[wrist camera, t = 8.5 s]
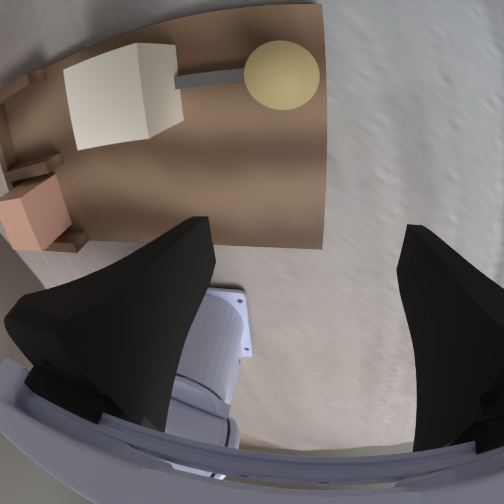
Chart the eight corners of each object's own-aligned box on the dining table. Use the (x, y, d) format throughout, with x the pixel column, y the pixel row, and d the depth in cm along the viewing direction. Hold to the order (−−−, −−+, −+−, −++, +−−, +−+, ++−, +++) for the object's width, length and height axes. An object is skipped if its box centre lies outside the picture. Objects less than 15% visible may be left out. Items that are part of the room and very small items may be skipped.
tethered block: (317, 115, 15) (320, 134, 11) (118, 129, 18) (72, 153, 14) (314, 33, 12) (316, 18, 8) (108, 62, 15) (57, 71, 11)
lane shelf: (321, 241, 21) (322, 267, 19) (45, 233, 26) (28, 249, 24) (321, 7, 12) (323, -4, 10) (5, 94, 17) (-18, 103, 15)
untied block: (72, 223, 23) (42, 252, 20) (41, 224, 24) (13, 249, 21) (55, 173, 20) (20, 198, 17) (25, 180, 21) (-7, 202, 18)
